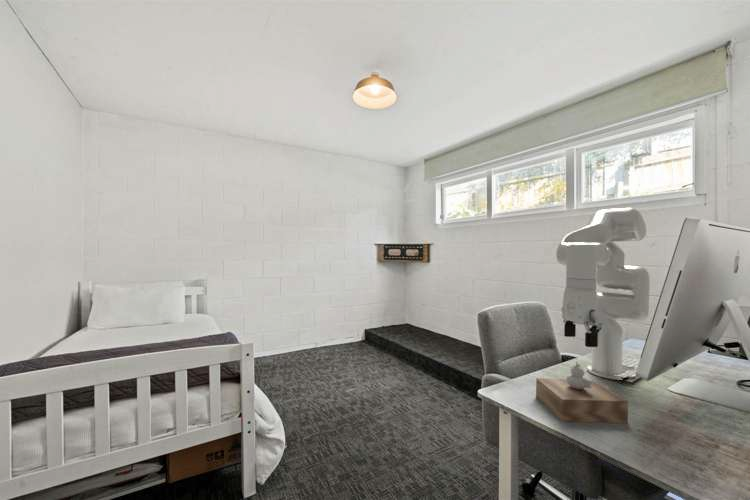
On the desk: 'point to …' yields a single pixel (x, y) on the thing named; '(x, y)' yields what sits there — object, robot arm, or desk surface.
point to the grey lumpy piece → (578, 378)
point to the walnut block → (581, 402)
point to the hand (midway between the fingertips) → (580, 341)
